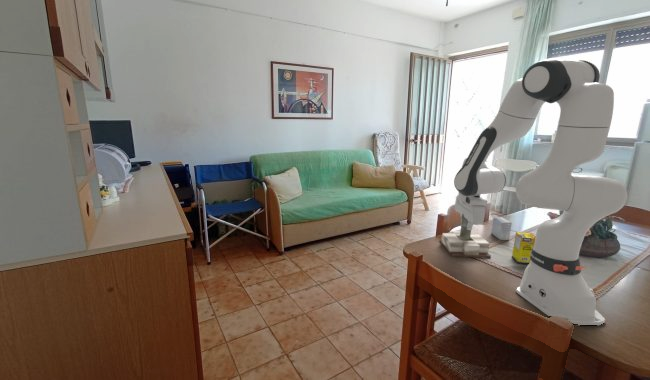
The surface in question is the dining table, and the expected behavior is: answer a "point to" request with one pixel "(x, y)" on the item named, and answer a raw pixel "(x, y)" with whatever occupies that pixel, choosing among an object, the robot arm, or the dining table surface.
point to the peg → (464, 228)
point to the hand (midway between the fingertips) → (466, 227)
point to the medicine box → (501, 228)
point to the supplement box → (523, 247)
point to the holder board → (465, 245)
